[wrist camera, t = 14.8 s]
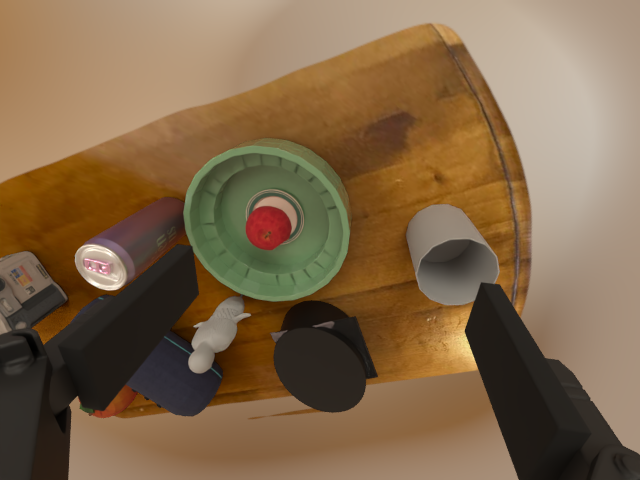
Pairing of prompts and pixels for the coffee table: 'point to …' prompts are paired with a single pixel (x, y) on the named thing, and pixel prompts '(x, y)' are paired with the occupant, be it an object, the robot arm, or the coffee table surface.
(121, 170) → the coffee table surface
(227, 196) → the bowl
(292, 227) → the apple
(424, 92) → the coffee table surface
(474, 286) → the cup
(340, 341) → the tape dispenser
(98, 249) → the beverage can
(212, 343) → the figurine
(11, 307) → the camera
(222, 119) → the coffee table surface
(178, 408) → the portable speaker
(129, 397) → the fruit
